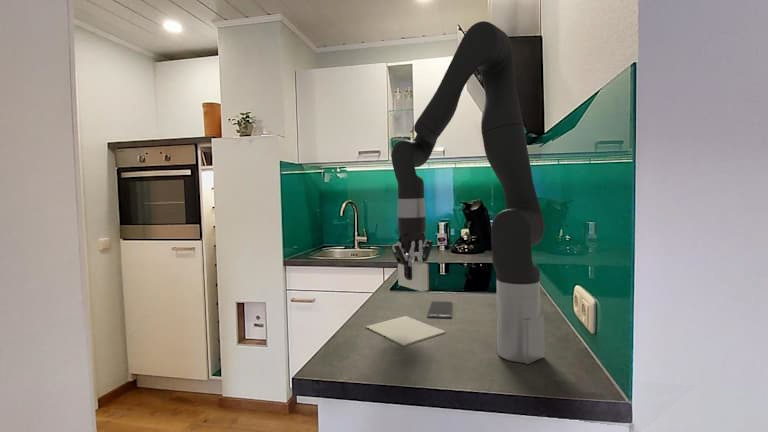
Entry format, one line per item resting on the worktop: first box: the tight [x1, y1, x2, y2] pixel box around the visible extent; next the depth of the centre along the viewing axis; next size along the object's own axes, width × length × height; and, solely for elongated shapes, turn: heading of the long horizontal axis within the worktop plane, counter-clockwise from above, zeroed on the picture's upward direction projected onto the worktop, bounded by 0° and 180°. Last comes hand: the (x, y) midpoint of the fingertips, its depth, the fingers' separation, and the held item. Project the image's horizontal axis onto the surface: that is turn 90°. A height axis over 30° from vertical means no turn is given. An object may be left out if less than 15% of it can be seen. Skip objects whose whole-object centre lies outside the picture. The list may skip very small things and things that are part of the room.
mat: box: [365, 315, 446, 347], centre depth 109 cm, size 17×14×1 cm
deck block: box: [397, 260, 430, 292], centre depth 109 cm, size 10×2×7 cm, turn 35°
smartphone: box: [426, 300, 454, 319], centre depth 126 cm, size 7×1×16 cm
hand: (413, 278), depth 109 cm, fingers closed on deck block, 2 cm apart
